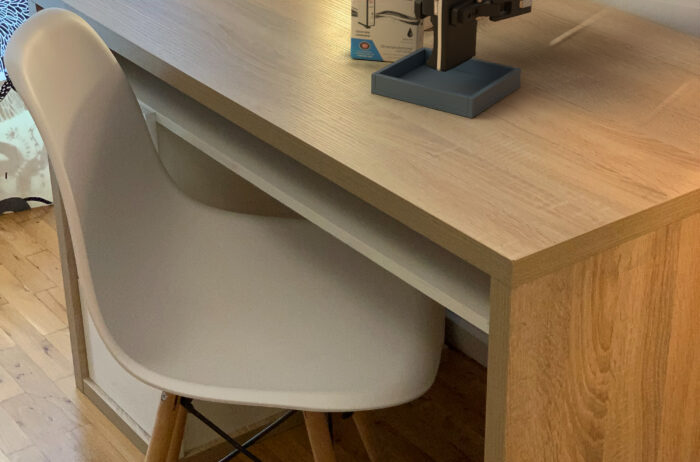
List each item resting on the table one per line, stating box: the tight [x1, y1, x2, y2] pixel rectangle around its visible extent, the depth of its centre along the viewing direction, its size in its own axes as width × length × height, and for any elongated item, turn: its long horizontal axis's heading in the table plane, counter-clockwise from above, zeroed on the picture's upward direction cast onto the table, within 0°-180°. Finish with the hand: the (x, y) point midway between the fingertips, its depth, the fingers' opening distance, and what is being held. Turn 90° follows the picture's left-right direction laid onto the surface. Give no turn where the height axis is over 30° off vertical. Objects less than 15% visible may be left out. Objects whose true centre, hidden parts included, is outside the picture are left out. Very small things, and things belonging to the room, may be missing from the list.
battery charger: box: [422, 0, 479, 72], centre depth 119 cm, size 7×4×11 cm, turn 142°
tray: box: [370, 46, 522, 119], centre depth 122 cm, size 13×11×2 cm
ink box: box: [350, 0, 425, 63], centre depth 130 cm, size 9×5×12 cm, turn 76°
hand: (436, 13), depth 116 cm, fingers closed on battery charger, 4 cm apart
